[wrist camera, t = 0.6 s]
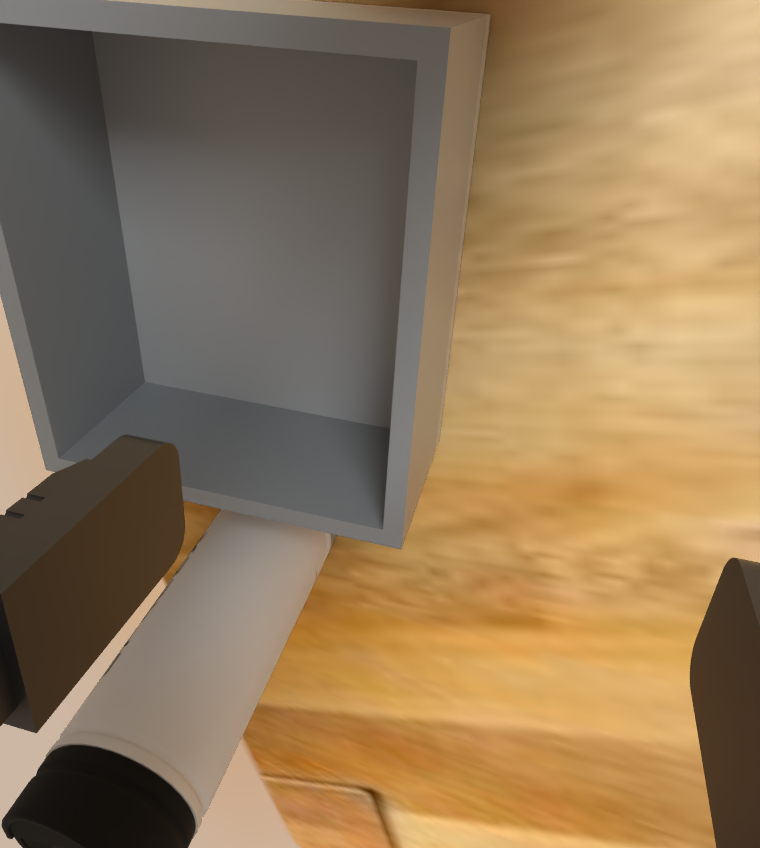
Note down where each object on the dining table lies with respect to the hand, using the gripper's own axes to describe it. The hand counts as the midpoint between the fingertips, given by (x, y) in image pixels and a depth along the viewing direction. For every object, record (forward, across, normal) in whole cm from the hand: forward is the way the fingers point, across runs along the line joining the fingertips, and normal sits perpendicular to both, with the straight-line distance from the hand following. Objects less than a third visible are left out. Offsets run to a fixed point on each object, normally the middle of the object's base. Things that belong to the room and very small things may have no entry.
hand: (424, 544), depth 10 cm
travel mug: (+22, +11, +18) cm, 30 cm away
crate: (+21, +10, +2) cm, 23 cm away
